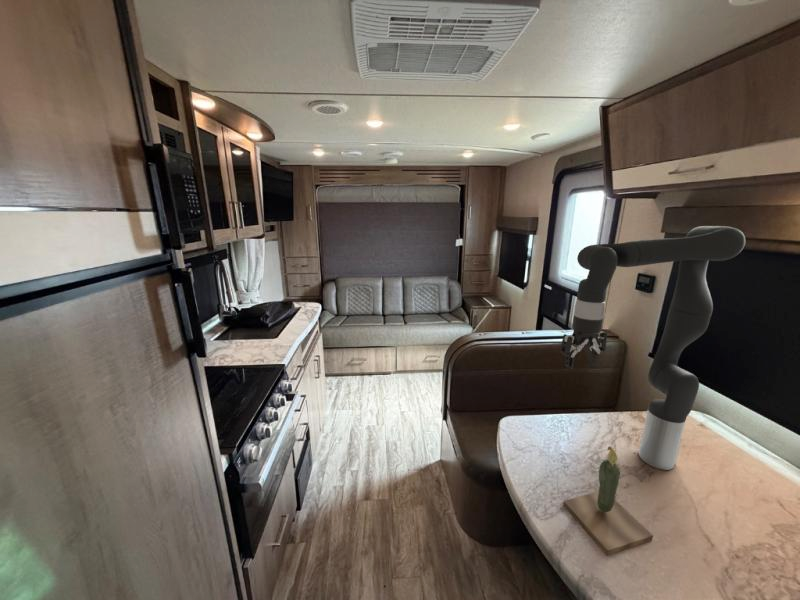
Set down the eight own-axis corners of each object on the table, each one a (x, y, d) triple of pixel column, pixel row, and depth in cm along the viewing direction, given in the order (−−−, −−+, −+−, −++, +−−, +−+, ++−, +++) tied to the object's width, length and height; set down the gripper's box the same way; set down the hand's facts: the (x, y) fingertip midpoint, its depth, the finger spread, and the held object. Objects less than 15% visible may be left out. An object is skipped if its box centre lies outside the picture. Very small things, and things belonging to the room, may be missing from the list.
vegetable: (614, 521, 81) (627, 457, 75) (596, 518, 82) (607, 455, 76) (607, 506, 85) (619, 444, 80) (589, 504, 86) (600, 442, 81)
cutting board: (603, 493, 91) (604, 489, 90) (652, 539, 78) (653, 535, 77) (563, 505, 87) (563, 500, 87) (606, 555, 74) (607, 550, 74)
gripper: (578, 320, 86) (570, 374, 90) (619, 316, 89) (610, 368, 93) (558, 313, 93) (552, 363, 97) (597, 309, 96) (589, 357, 100)
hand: (580, 365), depth 95 cm, fingers open, 8 cm apart
